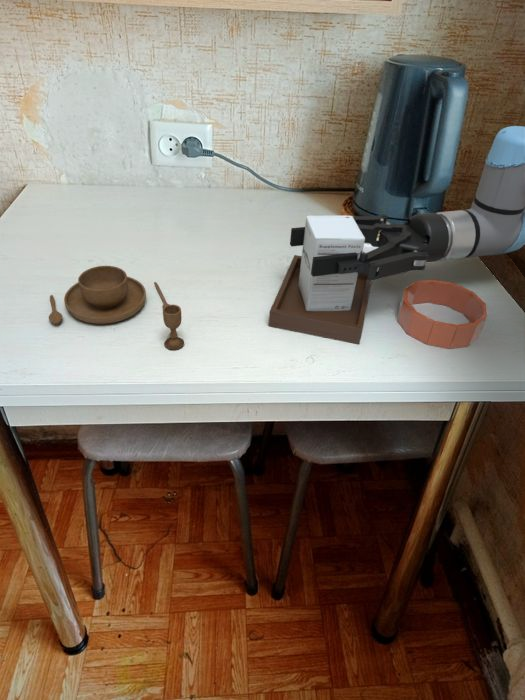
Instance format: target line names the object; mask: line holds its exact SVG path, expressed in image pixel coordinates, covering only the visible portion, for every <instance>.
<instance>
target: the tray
mask: <svg viewBox="0 0 525 700" xmlns="http://www.w3.org/2000/svg"><path fill="white" fill-rule="evenodd" d="M301 258H302V255H297V254H294V255H293V258H292V260H291V261H290V264H289V265H288V266H289V267H288V268H287V271H286V274H285V275H284V278H283V280H282V282H281V284H280V287H279V289H278V292H277V294H276V295H275V299H274V301H273V303H272V305H271V308H270V310H269V318H268V327H270V328H271V327H272V328H276V329H279V330H280V329H281V330H286V331H290V332H295V333H301V334H305V335H311V336H315V337H321V338H326V339H331V340H335V341H341V342H345V343H349V344H350V343H351V344H356V345H360V343H361V338H362V334H363V330H364V324H365V317H366V314H367V313H366V312H367V307H368V302H369V296H370V291H371V286H372V281H370V280H368V279H366V276H367V275H365V274H358V276H357V281H356V286H355V291H354V296H353V301H352V306H351V310H348V311H306V308H305V304H304V301H303V297H302V294H301V291H300V289H299V286H298V284H299V275H300V267H301Z"/></svg>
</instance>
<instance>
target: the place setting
mask: <svg viewBox="0 0 525 700" xmlns="http://www.w3.org/2000/svg"><path fill="white" fill-rule="evenodd" d="M77 280H78V282H76V283H74V284H73V285H72V286H71V287H69V288H68V289H67V291H66V293H65V294H64V299H63V301H64V303H63V304H64V307H65V308H66V310H67V312H68V313H69V314H70V315H71V316H73V317H74V318H76V319H78V320H80V321H81V322H86V323H90V324H101V325H102V324H104V325H105V324H112V323H113V324H114V323H118V322H120V321H124V320H126V319H128V318H130V317H132V316H134V315H135V314H137V313H139V311H140V310H141V309H142V308H143V306H144V305H145V304H146V303H145V302H146V299H147V290H146V288H145V286H144V285H143V283H141V282H140V281H139V280H137V279H136V278H133V277H130V276H128V275H127V273H126V271H125V270H123V269H122V268H121V267H117V266H115V265H114V266H113V265H99V266H93V267H91V268H88V269H86V270H84V271H83V272H82V273H80V275H79V276H78V279H77ZM153 284H154V287H155V289H156V291H157V293H158V295H159V296H160V299H161V301H162V302H163V304H162V318H163V324H164V325H165V327H166V328H167V329H169V330H170V332H169V337H168V338H166V339H165V340H164V342H163V345H164V347H165V349H167V350H169V351H178V350H180V349H183V348H184V346H185V340H184V339H183V338H182V337H179V336H178V335H179V334H178V332H177V329H178V328H179V327H180V326H181V324H182V309H181V306H180V305H177V304H169V303H168V302H167V299H166V298H165V295H164V294H163V292H162V290H161V288H160V286H159V284H158V283H157V282H156V281H154V282H153ZM49 302H50V305H51V310H52V311H51V312H50V314H49V315H48V321H49V322H50V323H52V324H60V323H61V321H62V320H63V314H62V313H61V312H59V311H58V310H57V309H56V301H55V297H54V295H53V294H50V295H49Z"/></svg>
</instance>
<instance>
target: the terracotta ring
mask: <svg viewBox="0 0 525 700" xmlns="http://www.w3.org/2000/svg"><path fill="white" fill-rule="evenodd" d="M424 303H425V304H426V303H430V304H436V305H442V306H446V307H448V308H450V309H453V310H454V311H456V312H458V313H460V314H463V316H465V317H466V319H468V320H469V322H466V323H462V324H461V323H460V324H454V323H449V322H444V321H438V320H434V319H433V318H431V317H428V316H427V315H424V314H422V313H420V312H418V311H417V310H416V309H415V308H414V307H413V305H416V304H424ZM487 318H488V309H487V303H486V302H485V301H484V300H482V299H481V297H479V296H478V295H477V294H476V293H475V292H474V291H473V290H470V289H468V288H466V287H463V286H462V285H459V284H457V283H454V282H449V281H444V280H439V279H427V280H419V281H414V282H412V283H411V284H409V285H408V286H407V287H405V288H404V289H403V292H402V296H401V299H400V304H399V306H398V310H397V323H398V324H399V325H400V327H401V328H402V330H403V331H404V332H405V333H406V334H407V335H408V336H410V337H412V338H414V339H415V340H418V341H419V342H421V343H422V344H425V345H428V346H433V347H439V348H443V349H448V350H449V349H450V350H451V349H458V348H459V349H460V348H465V347H469V346H471V345H472V344H473V343H474V342H476V340H477V339H479V337H480V336H481V333H482V330H483V327H484V326H485V324H486V320H487Z"/></svg>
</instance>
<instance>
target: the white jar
mask: <svg viewBox="0 0 525 700" xmlns="http://www.w3.org/2000/svg"><path fill="white" fill-rule="evenodd" d="M376 248H379V247H373V246H371V244H370V243H364V247H363V252H364V253H368V252H370V251H372V250H374V249H376ZM363 252H362V253H363Z"/></svg>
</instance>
